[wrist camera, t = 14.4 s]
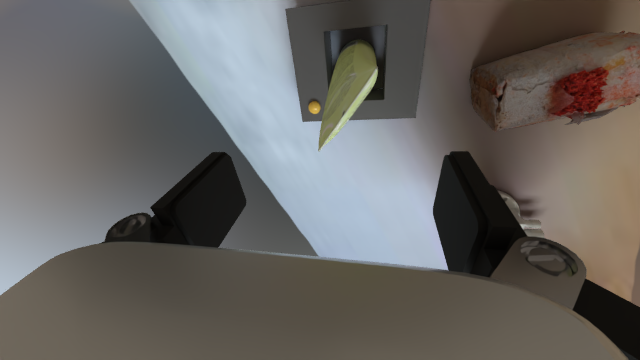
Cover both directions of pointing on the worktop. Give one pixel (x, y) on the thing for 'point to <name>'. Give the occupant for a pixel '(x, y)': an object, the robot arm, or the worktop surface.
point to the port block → (399, 59)
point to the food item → (559, 81)
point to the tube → (348, 87)
